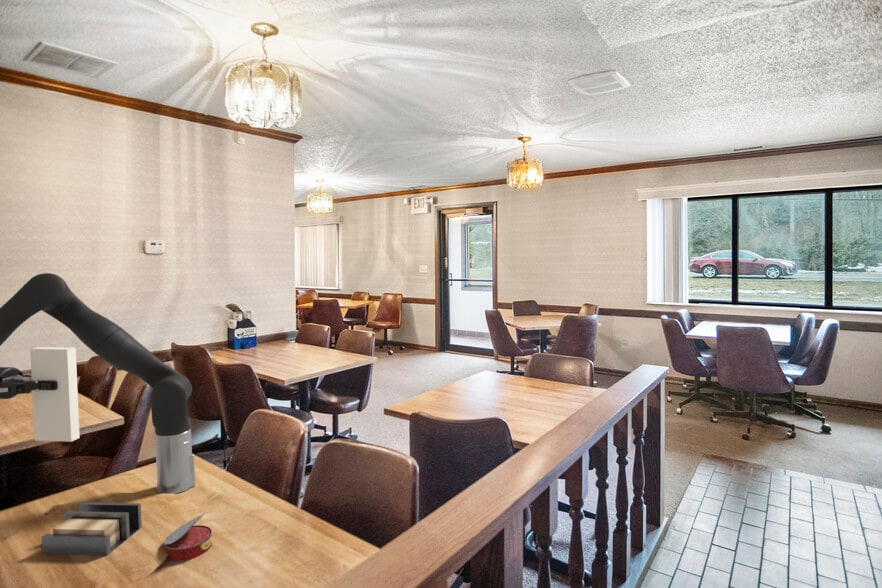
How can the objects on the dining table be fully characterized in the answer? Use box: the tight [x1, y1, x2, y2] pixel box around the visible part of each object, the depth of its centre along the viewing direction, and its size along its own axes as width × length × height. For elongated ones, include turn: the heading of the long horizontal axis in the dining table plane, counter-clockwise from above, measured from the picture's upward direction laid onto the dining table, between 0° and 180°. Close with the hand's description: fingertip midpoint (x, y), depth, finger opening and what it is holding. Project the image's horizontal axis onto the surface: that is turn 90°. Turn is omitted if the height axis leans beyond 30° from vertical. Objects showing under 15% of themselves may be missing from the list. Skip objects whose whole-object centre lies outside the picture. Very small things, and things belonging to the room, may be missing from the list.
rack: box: [41, 501, 143, 557], centre depth 114 cm, size 15×12×8 cm
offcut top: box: [52, 518, 119, 536], centre depth 112 cm, size 12×5×2 cm, turn 87°
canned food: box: [163, 512, 213, 562], centre depth 113 cm, size 11×10×10 cm
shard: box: [42, 503, 67, 518], centre depth 127 cm, size 11×8×2 cm
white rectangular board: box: [29, 346, 80, 443], centre depth 116 cm, size 9×2×22 cm, turn 87°
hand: (61, 383), depth 115 cm, fingers closed on white rectangular board, 2 cm apart
